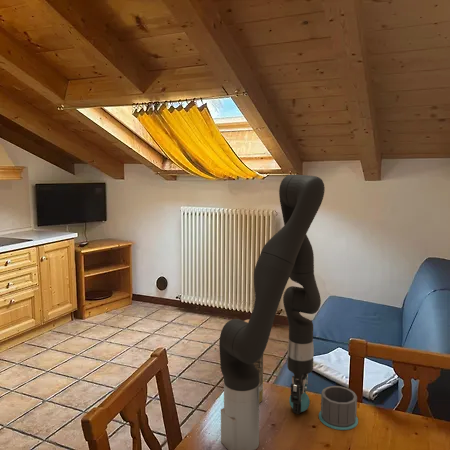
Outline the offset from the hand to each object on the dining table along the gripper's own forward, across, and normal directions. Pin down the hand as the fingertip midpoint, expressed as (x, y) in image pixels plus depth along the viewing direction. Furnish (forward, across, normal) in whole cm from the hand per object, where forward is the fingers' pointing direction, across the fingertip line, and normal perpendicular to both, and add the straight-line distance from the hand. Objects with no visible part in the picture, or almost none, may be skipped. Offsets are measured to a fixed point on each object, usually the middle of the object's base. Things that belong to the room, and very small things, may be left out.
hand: (299, 406), depth 128 cm
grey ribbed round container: (+1, 0, -11) cm, 11 cm away
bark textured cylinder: (+1, 0, +15) cm, 15 cm away
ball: (-2, 0, 0) cm, 2 cm away
